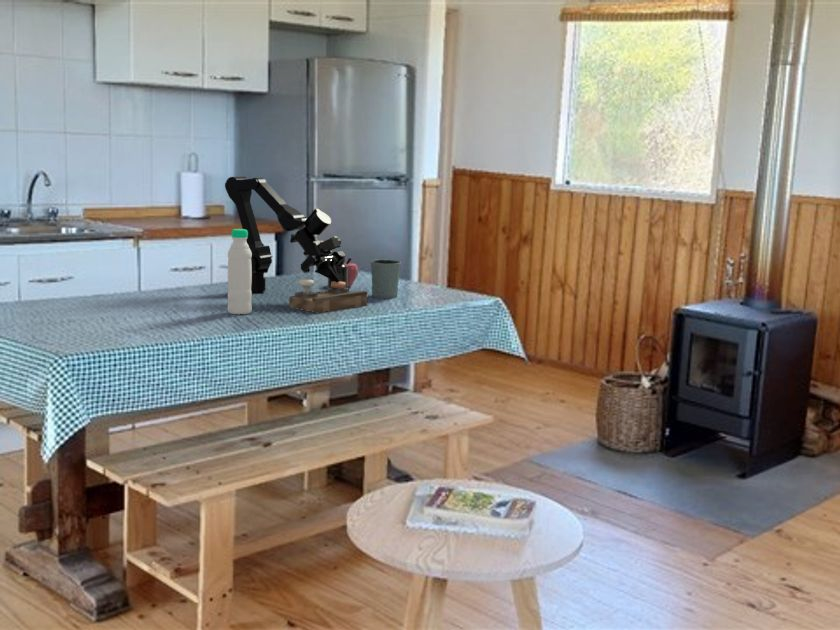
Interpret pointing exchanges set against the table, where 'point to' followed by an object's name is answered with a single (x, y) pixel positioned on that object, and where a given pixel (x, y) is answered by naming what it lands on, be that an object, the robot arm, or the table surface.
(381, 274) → the grey green plant pot
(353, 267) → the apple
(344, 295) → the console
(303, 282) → the button cream
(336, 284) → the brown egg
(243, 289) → the water bottle
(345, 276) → the supplement bottle
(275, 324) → the table surface
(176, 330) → the table surface
